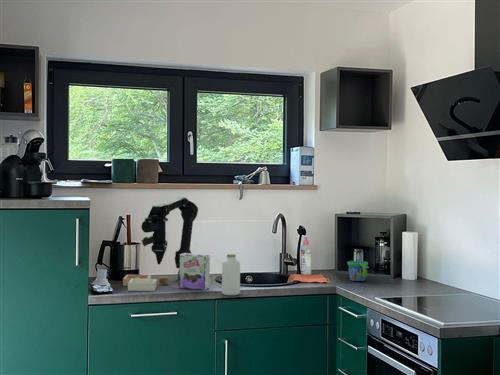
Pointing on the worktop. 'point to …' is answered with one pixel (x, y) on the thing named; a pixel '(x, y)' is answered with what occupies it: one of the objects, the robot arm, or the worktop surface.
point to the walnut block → (163, 281)
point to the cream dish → (142, 285)
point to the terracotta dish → (129, 277)
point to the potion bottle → (231, 275)
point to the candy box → (194, 271)
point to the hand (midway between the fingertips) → (159, 262)
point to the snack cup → (357, 270)
